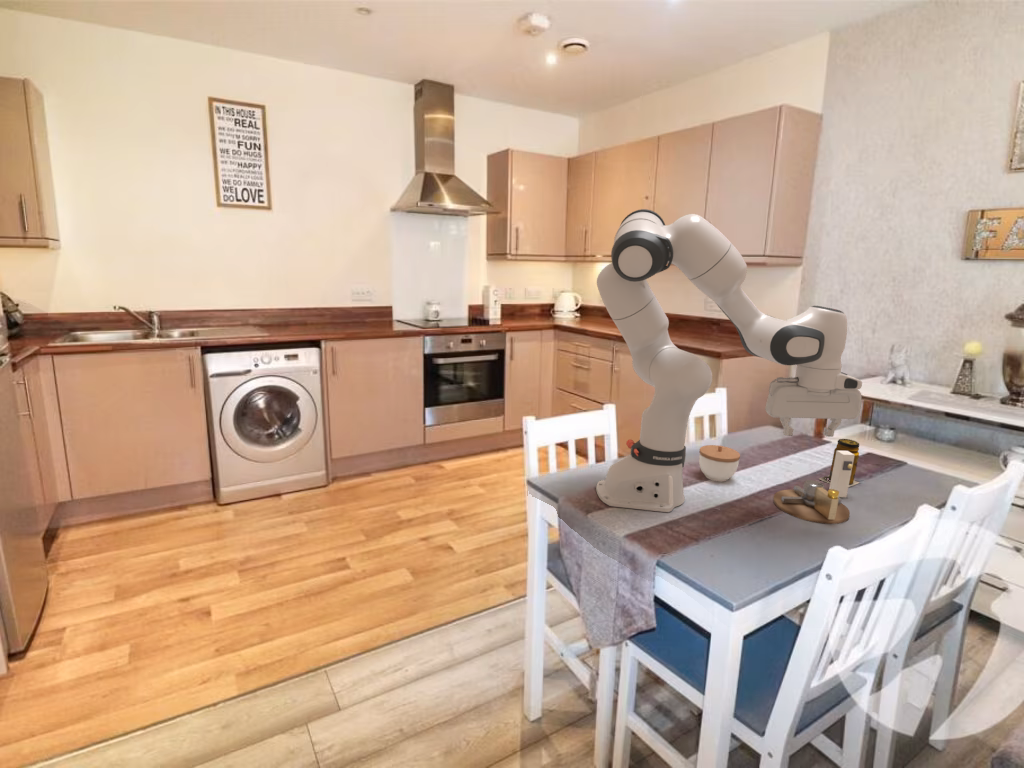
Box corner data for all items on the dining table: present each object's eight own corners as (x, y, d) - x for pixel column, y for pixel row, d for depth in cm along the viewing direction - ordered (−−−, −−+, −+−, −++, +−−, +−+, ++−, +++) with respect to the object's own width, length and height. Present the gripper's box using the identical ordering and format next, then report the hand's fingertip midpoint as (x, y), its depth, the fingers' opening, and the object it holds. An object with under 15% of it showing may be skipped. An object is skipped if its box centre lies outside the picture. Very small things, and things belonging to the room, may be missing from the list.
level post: (837, 498, 144) (846, 456, 141) (828, 492, 148) (836, 450, 145) (848, 499, 144) (857, 456, 142) (839, 492, 148) (847, 450, 145)
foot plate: (794, 523, 130) (795, 519, 130) (761, 492, 147) (761, 488, 146) (864, 524, 131) (865, 520, 130) (823, 493, 147) (824, 490, 147)
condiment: (859, 483, 155) (867, 443, 152) (844, 489, 151) (852, 448, 148) (833, 474, 161) (840, 435, 158) (818, 479, 156) (825, 440, 154)
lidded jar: (740, 476, 157) (744, 445, 155) (731, 488, 148) (736, 456, 146) (702, 466, 163) (706, 437, 160) (691, 478, 154) (695, 447, 152)
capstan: (800, 518, 130) (805, 492, 128) (768, 489, 145) (772, 465, 144) (861, 520, 130) (867, 493, 129) (822, 490, 146) (827, 467, 144)
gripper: (777, 380, 122) (769, 439, 125) (869, 382, 121) (859, 441, 125) (765, 373, 128) (757, 430, 131) (853, 375, 128) (843, 431, 131)
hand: (807, 435), depth 128 cm, fingers open, 8 cm apart
